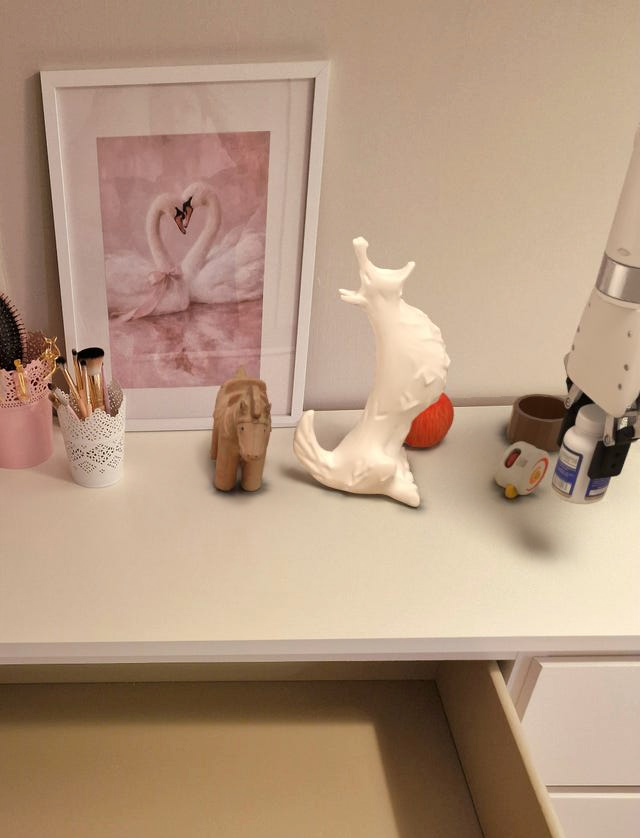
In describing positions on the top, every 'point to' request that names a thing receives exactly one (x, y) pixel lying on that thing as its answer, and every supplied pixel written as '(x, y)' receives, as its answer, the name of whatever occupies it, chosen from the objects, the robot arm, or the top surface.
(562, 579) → the top surface
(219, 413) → the figurine
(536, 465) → the roller toy
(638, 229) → the robot arm
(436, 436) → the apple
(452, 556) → the top surface
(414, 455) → the top surface
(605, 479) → the pill bottle
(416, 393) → the sculpture
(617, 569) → the top surface
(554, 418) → the holder
